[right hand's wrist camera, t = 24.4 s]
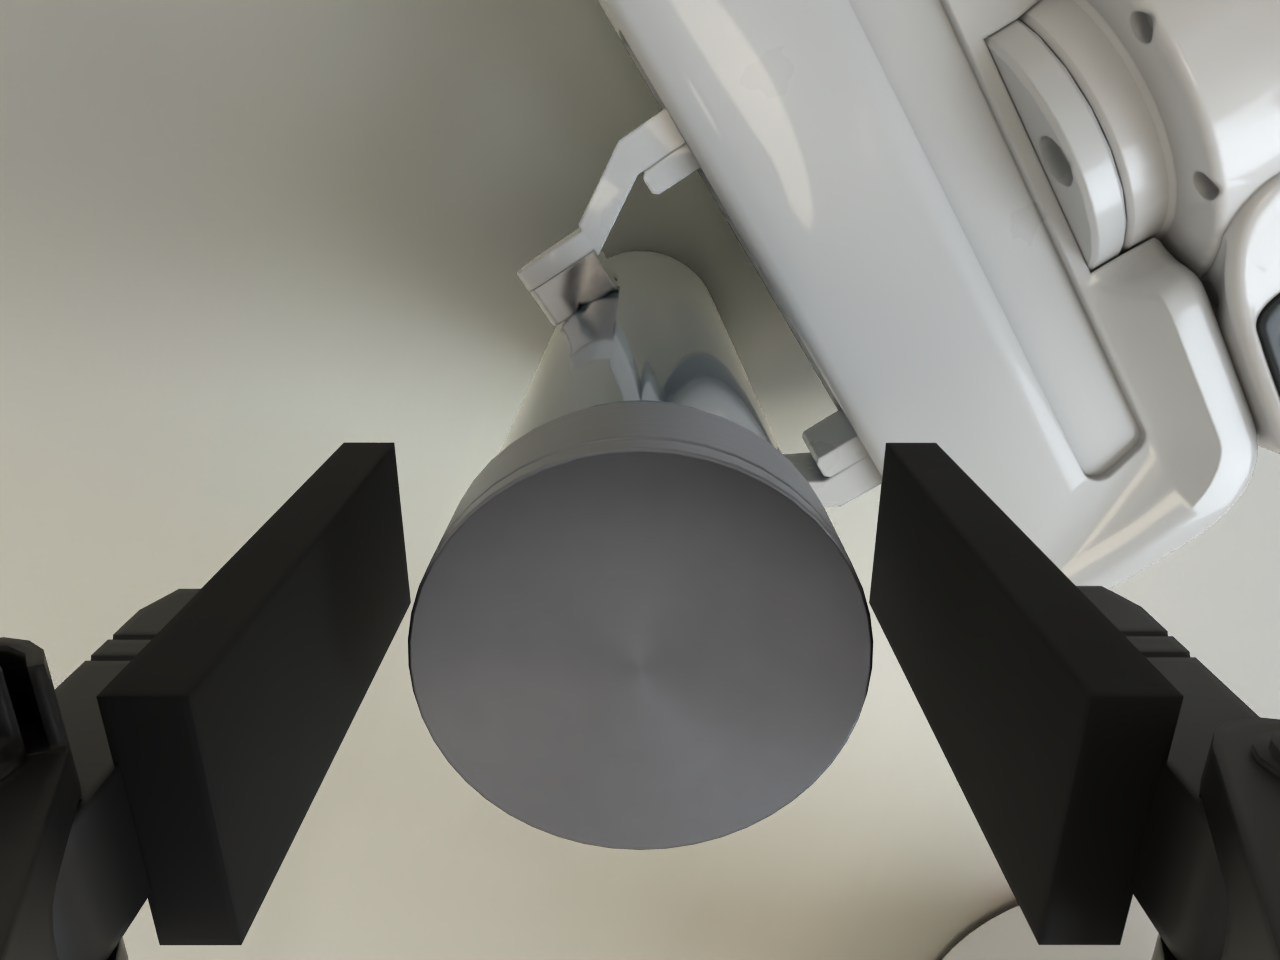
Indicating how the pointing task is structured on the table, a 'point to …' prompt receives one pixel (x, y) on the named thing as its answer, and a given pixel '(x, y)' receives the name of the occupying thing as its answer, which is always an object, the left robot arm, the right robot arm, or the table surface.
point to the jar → (643, 351)
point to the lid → (640, 630)
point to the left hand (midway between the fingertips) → (610, 406)
